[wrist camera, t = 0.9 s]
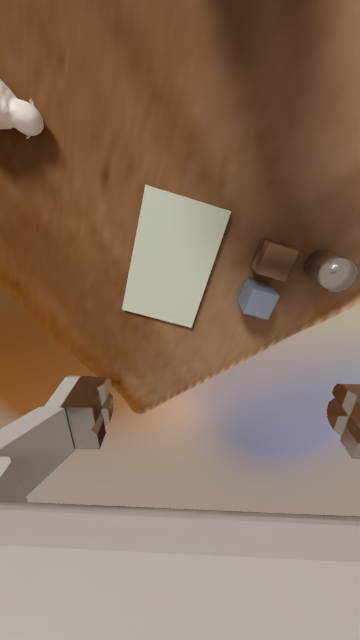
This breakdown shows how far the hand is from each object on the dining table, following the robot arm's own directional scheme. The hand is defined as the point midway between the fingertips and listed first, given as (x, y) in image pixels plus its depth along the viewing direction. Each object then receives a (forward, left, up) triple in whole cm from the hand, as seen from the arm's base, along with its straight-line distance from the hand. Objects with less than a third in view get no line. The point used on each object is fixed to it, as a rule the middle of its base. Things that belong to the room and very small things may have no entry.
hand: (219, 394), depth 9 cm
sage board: (+5, -3, -38) cm, 38 cm away
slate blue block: (+6, +13, -38) cm, 40 cm away
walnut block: (-1, +13, -38) cm, 40 cm away
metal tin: (-2, +22, -38) cm, 43 cm away
